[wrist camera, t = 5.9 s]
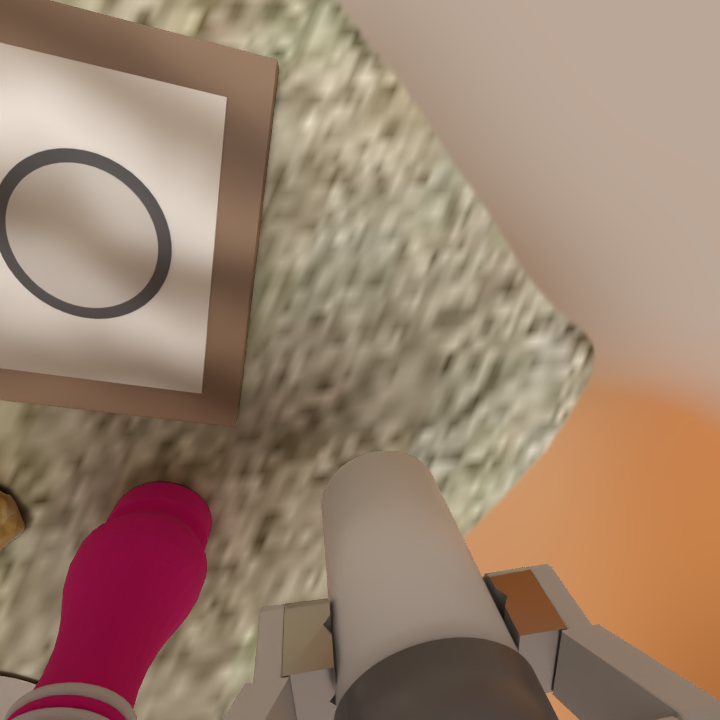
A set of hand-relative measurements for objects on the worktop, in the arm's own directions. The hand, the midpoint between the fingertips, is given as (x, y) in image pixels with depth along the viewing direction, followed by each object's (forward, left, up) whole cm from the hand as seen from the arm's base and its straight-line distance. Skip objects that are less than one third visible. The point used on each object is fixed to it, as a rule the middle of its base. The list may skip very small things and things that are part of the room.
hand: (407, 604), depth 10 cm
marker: (0, 0, -4) cm, 4 cm away
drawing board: (+4, +14, -18) cm, 23 cm away
